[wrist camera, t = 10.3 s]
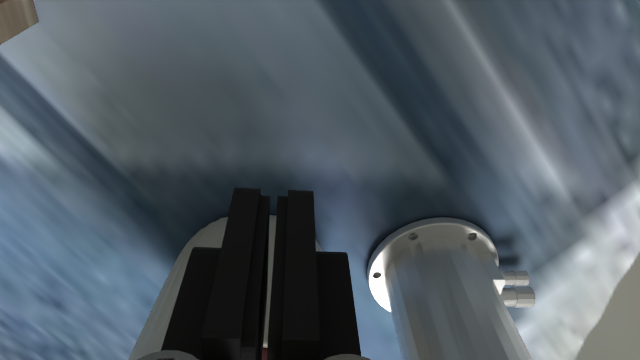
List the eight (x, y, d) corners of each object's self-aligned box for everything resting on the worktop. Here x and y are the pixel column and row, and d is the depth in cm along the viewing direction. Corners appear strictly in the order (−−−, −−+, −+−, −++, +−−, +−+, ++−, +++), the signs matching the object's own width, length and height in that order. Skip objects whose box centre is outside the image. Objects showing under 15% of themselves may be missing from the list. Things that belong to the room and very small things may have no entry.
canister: (116, 256, 43) (-3, 519, 26) (255, 139, 38) (225, 374, 20) (256, 346, 51) (239, 593, 34) (388, 260, 46) (451, 505, 28)
